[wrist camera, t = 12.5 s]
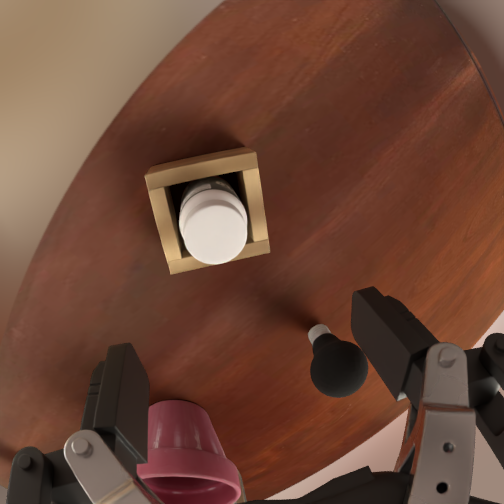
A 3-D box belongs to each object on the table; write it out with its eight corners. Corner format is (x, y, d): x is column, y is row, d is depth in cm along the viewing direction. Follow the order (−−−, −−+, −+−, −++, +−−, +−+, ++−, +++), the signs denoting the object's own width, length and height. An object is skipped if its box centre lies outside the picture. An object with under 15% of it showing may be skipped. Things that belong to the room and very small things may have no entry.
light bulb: (287, 349, 36) (315, 413, 27) (296, 308, 34) (331, 372, 25) (331, 344, 37) (366, 402, 28) (343, 305, 35) (386, 362, 26)
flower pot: (109, 391, 34) (98, 477, 22) (216, 378, 36) (232, 469, 24) (145, 446, 40) (146, 516, 29) (232, 436, 42) (248, 507, 31)
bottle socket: (150, 166, 25) (144, 175, 21) (246, 146, 26) (256, 151, 22) (172, 253, 28) (170, 274, 25) (259, 234, 29) (270, 252, 26)
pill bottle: (245, 207, 28) (268, 244, 20) (201, 236, 28) (207, 283, 21) (216, 163, 26) (228, 183, 18) (170, 194, 26) (163, 228, 18)
